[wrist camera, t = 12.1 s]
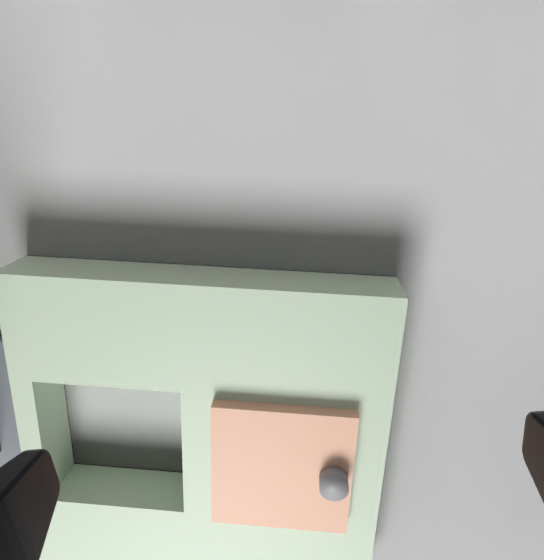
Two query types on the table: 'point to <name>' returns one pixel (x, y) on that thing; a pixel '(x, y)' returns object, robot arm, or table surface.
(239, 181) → the table surface
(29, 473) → the robot arm
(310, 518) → the puzzle board
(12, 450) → the grey mat
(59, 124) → the table surface
